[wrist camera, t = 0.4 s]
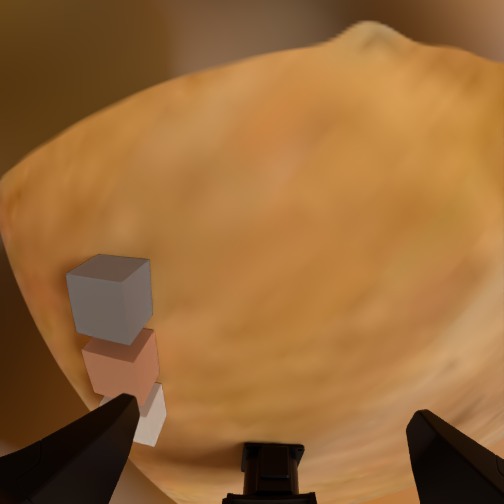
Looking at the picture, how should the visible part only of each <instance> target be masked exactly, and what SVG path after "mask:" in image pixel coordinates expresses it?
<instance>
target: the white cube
mask: <svg viewBox="0 0 504 504" xmlns="http://www.w3.org/2000/svg"><path fill="white" fill-rule="evenodd" d="M112 399H113V398H111V397H107V396H104V397H103V399H102V401H101V402H100V404H99V406H102V405H103V404H105V403H107V402H108V401H110V400H112ZM138 407H139V411H140V419H139V422H138V426H137V429H136V432H135V436H134V439H133V441H134V442H138V443H142V444H145V445H149V446H153V447H155V444H156V442H157V439H158V436H159V434H160V431H161V428H162V425H163V423H164V420H165V417H166V415H167V414H166V408H165V403H164V397H163V391H162V385H161V384H159V383H154V384H153V386H152V389H151V391H150V393H149V395H148V397H147V399H146V401H145V403H144V405H143V406H140V405H138Z"/></svg>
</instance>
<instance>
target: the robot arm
mask: <svg viewBox="0 0 504 504" xmlns="http://www.w3.org/2000/svg"><path fill="white" fill-rule="evenodd" d="M139 419H140V411H139V407H138V402H137V398H136V397H135V396H134V395H131V394H127V393H122V394H120V395H118V396H117V397H115V398H113V399H112V400H110V401H108V402H107V403H105V404H103V405H102V406H100V407H98V408H96V409H95V410H93V411H91V412H90V413H88V414H86V415H84V416H83V417H81V418H79V419H77V420H76V421H74V422H72V423H70V424H69V425H67V426H65V427H63V428H61V429H59V430H58V431H56V432H54V433H52V434H50V435H48V436H47V437H45V438H43V439H42V440H39V441H37V442H35V443H33V444H31V445H29V446H27V447H25V448H23V449H21V450H18V451H16V452H13V453H10V454H8V455H5V456H2V457H0V504H109V501H110V499H111V496H112V494H113V492H114V489H115V487H116V485H117V482H118V480H119V478H120V475H121V472H122V471H123V468H124V466H125V464H126V461H127V459H128V456H129V453H130V450H131V446H132V443H133V439H134V436H135V432H136V429H137V426H138V422H139ZM406 435H407V441H408V447H409V454H410V460H411V466H412V471H413V475H414V479H415V483H416V487H417V491H418V495H419V500H420V504H504V459H502V458H500V457H499V456H497V455H495V454H494V453H493V452H491V451H489V450H488V449H486V448H485V447H483V446H482V445H480V444H479V443H477V442H476V441H474V440H473V439H471V438H469V437H468V436H466V435H465V434H463V433H462V432H460V431H459V430H457V429H456V428H454V427H453V426H451V425H450V424H448V423H447V422H445V421H444V420H443V419H441V418H440V417H438V416H437V415H435V414H434V413H432V412H431V411H429V410H427V409H424V410H418V411H416V412H415V413H414V415H413V417H412V419H411V420H410V422H409V424H408V425H407V428H406ZM304 450H305V449H304V446H303V445H274V444H255V443H245V444H244V447H243V457H242V466H241V471H242V472H245V476H244V487H243V495H239V494H233V493H227V498H224V499H222V504H317V501H316V496H315V492H310V493H307V494H299V487H298V471H297V468H298V465H299V463H300V460H301V458H302V455H303V453H304Z"/></svg>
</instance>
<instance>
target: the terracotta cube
mask: <svg viewBox="0 0 504 504" xmlns="http://www.w3.org/2000/svg"><path fill="white" fill-rule="evenodd" d="M81 351H82V354H83V358H84V361H85V365H86V368H87V371H88V374H89V377H90V380H91V383H92V386H93V389H94V392H95V393H98V394H101V395H104V396H107V397H111V398H115V397H117V396H118V395H120V394H122V393H127V394H131V395H134V396H135V397H136V398H137V402H138V405H140V406H143V405H144V403H145V401H146V399H147V397H148V395H149V393H150V391H151V389H152V386H153V384H154V382H155V380H156V378H157V376H158V374H159V365H158V357H157V349H156V341H155V332H154V330H149V329H143V328H142V330H141V331H140V332H139V334H138V335H137V336H136V338H135V339H134V341H133V342H132V343H131V345H126V344H121V343H117V342H112V341H108V340H104V339H100V338H96V337H92V339H91V340H90V341H89V342H88V343H87V344H86V345H85V346H84V347H83V348H82V349H81Z"/></svg>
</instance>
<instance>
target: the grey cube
mask: <svg viewBox="0 0 504 504" xmlns="http://www.w3.org/2000/svg"><path fill="white" fill-rule="evenodd" d="M66 280H67V286H68V292H69V298H70V303H71V308H72V313H73V318H74V323H75V327H76V331H77V333H80V334H84V335H88V336H92V337H96V338H100V339H104V340H108V341H112V342H117V343H121V344H126V345H131V343H132V342H133V341H134V339H135V338H136V336H137V335H138V334H139V332H140V331H141V330H142V328H143V327H144V326H145V324H146V323H147V321H148V320H149V319H150V317H151V316H152V315H153V311H152V298H151V283H150V263H149V259H139V258H129V257H120V256H110V255H101V254H98V255H97V256H95V257H93V258H91V259H90V260H88V261H86V262H84V263H83V264H81V265H79V266H78V267H76V268H74V269H73V270H71V271H69V272H68V273H66Z"/></svg>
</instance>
